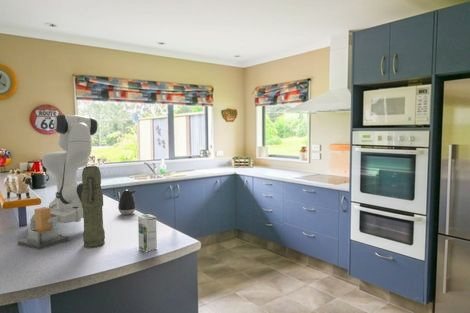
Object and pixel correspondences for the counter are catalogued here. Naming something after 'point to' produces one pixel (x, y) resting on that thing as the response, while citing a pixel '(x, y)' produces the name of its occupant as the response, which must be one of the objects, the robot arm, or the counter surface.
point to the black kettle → (127, 202)
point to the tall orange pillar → (42, 219)
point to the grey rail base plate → (42, 238)
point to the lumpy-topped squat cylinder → (34, 223)
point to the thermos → (92, 207)
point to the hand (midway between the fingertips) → (40, 219)
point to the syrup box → (147, 232)
